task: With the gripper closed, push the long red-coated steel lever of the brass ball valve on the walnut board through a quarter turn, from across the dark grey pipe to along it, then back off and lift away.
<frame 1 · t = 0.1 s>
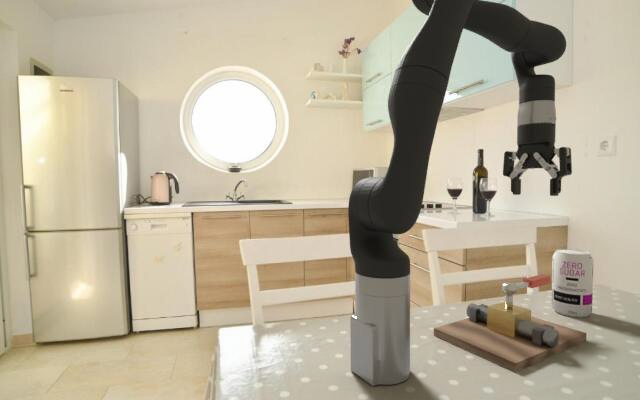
hand: (534, 195, 86), 29 cm above the table, fingers open, 8 cm apart
pipe valve: (508, 337, 77), resting on valve board
valve lever: (526, 283, 80), point 10 cm above the table, hinge at 0.0°
supplement can: (571, 313, 92), on the table
valve board: (508, 337, 77), on the table
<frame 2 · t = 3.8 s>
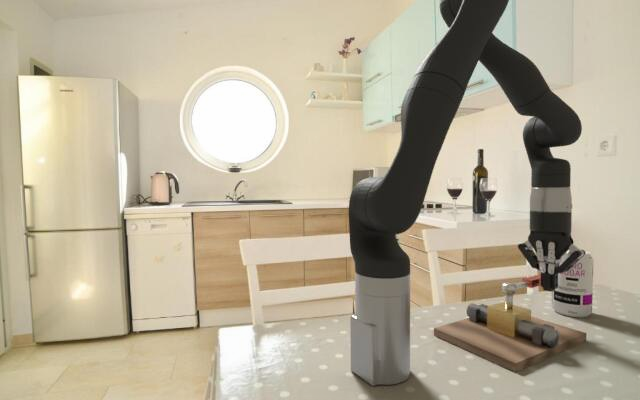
hand: (549, 290, 80), 9 cm above the table, fingers closed
valve lever: (525, 283, 80), point 10 cm above the table, hinge at 1.1°, touching gripper
everything else where it was.
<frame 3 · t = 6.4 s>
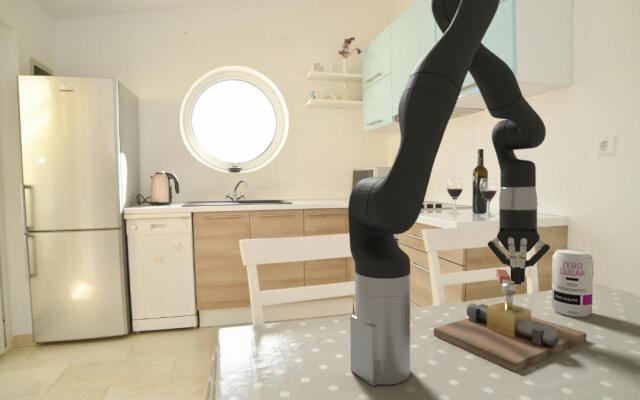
hand: (517, 283, 85), 9 cm above the table, fingers closed
valve lever: (505, 280, 83), point 10 cm above the table, hinge at 40.0°, touching gripper
everything else where it was.
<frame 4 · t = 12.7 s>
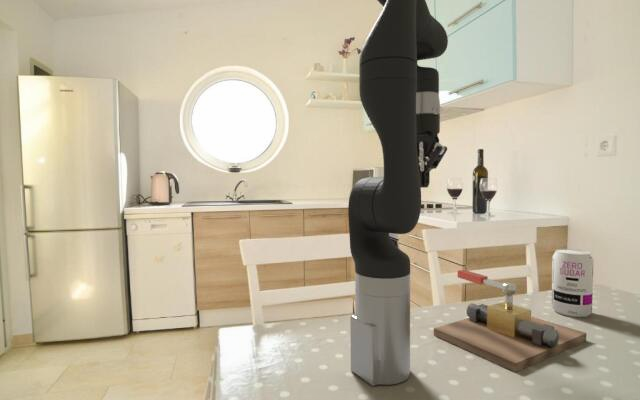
hand: (423, 187, 90), 31 cm above the table, fingers closed
valve lever: (485, 280, 83), point 10 cm above the table, hinge at 82.2°
everything else where it was.
at the end: valve lever at +82° (first picture: +0°) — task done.
